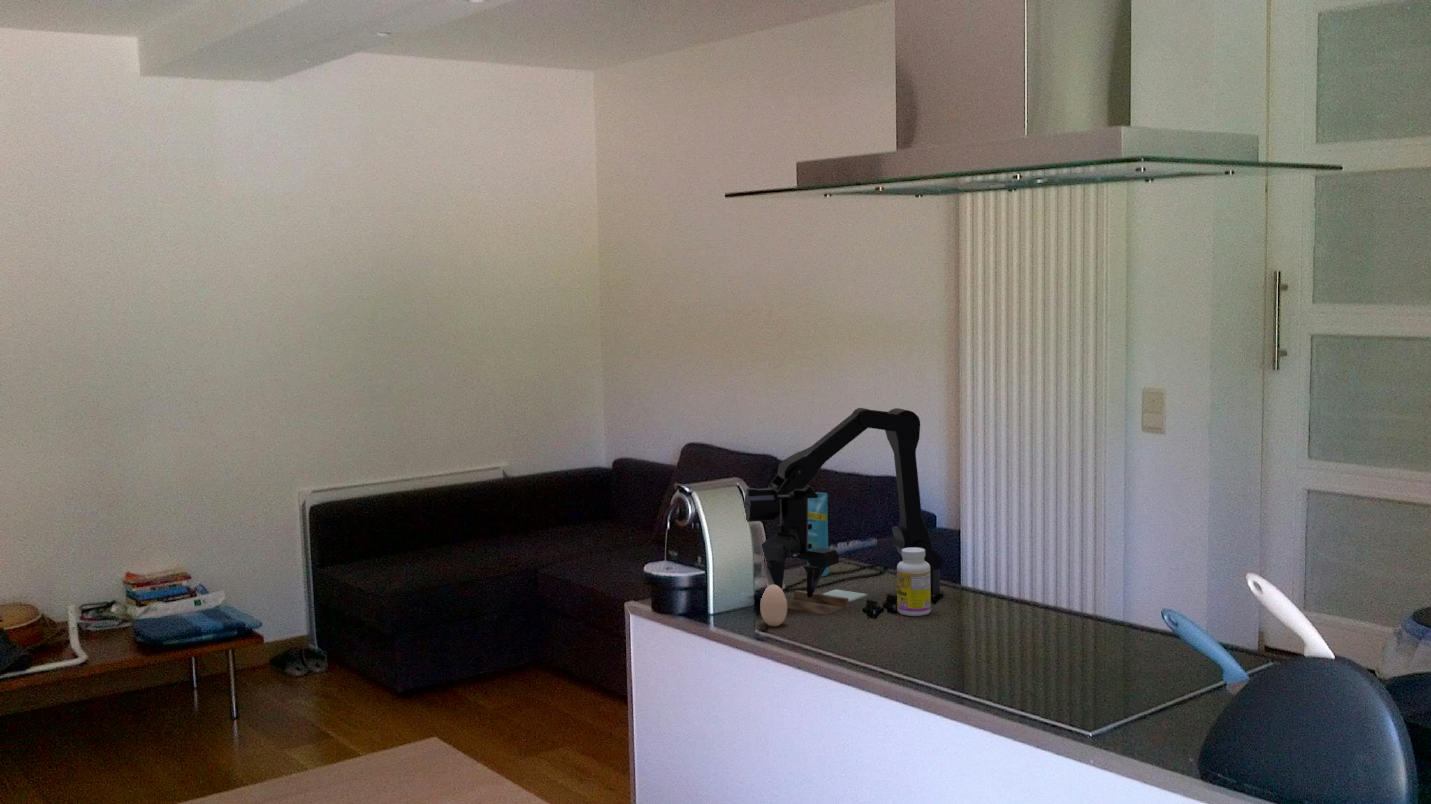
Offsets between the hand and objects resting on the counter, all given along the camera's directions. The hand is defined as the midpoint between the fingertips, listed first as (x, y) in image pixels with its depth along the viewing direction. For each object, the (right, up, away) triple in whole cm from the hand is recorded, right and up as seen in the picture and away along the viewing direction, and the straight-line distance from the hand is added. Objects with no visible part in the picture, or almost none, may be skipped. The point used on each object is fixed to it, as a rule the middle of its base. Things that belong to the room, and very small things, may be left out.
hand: (794, 594), depth 261 cm
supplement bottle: (+23, -3, -8) cm, 25 cm away
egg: (-5, -4, -16) cm, 17 cm away
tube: (+7, 0, +28) cm, 29 cm away
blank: (-5, -1, +5) cm, 7 cm away
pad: (+10, -2, +5) cm, 12 cm away
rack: (+3, -2, -2) cm, 4 cm away
